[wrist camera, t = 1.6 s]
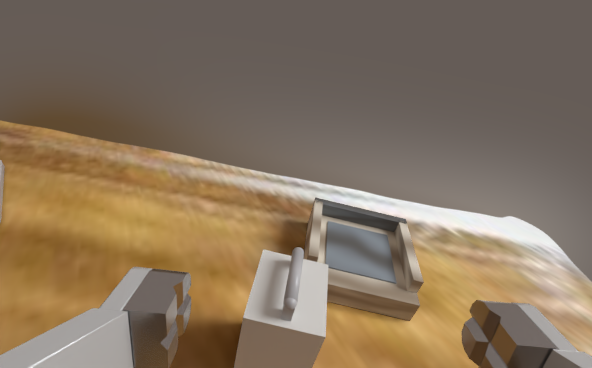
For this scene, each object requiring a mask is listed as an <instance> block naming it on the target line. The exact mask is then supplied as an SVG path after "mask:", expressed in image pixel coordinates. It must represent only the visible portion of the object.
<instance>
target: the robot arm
mask: <svg viewBox="0 0 592 368" xmlns="http://www.w3.org/2000/svg"><path fill="white" fill-rule="evenodd" d="M3 182H4V165H3V163H2V161H1V160H0V222H1V214H2V198H3ZM190 286H191V276H190V274H189V273H187V272H178V271H169V270H161V269H151V268H141V267H134V268H132V269H130V270H129V271H128V273H127V274H126V275H125V276H124V278H123V279H122V280H121V281H120V283H119V284H118V285H117V286H116V288H115V289H114V290H113V291H112V293H111V294H110V295H109V296H108V298H107V299H106V300H105V301H104V303H103V304H102V305H101V306H100V308H99V309H95V308H92V309H90V310H88V311H86V312H84V313H82V314H80V315H78V316H77V317H75V318H73V319H71V320H69V321H67V322H65V323H63V324H61V325H59V326H57V327H55V328H53V329H51V330H49V331H47V332H45V333H43V334H41V335H39V336H37V337H35V338H33V339H31V340H29V341H27V342H25V343H23V344H22V345H20V346H18V347H16V348H14V349H12V350H10V351H8V352H6V353H4V354H2V355H0V368H170V366H171V363H172V361H173V358H174V356H175V354H176V351H177V349H178V337H180V336H181V335H182V334H184V332H185V329H186V327H187V324H188V320H189V316H190V310H191V297H190V296H189V295H188V293H187V292H188V290H189V288H190ZM470 313H471V315H472V318H471V319H469V320H468V321H467V322H465V324H464V326H463V329H462V344H463V347H464V350H465V352H466V354H467V355H468V357H469V359H471V360H472V361H473V362H474V363H476V364H477V365H478V366H479V367H478V368H592V356H590V355H588V354H587V353H585V352H579V351H577V350H576V348H575V347H574V346H573V345H572V344H571V343H570V342H569V341H568V340H567V339H566V338H565V337H564V336H563V335H562V334H561V333H560V332H559V331H558V330H557V329H556V328H555V327H554V326H553V325H552V324H551V323H550V322H549V321H548V320H547V319H546V317H545V316H544V315H543V314H542V313H541V312H540V311H539V310H538V309H537V308H536V307H534V306H532V305H530V304H524V303H504V302H493V301H482V300H476V301H475V302H474V303H473V304H472V306H471V309H470Z"/></svg>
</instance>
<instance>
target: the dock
mask: <svg viewBox="0 0 592 368" xmlns="http://www.w3.org/2000/svg"><path fill="white" fill-rule="evenodd" d="M303 259H306V260H310V261H315V262H319V263H323V264H327V265H328V289H327V301H328V302H332V303H336V304H340V305H345V306H349V307H353V308H357V309H362V310H366V311H370V312H374V313H378V314H383V315H387V316H391V317H395V318H400V319H404V320H408V321H410V320H411V319H412V317H413V315H414V314H415V312H416V311H417V309H418V308H419V306H420V304H419V300H418V296H417V292H418V291H419V289H420V287H421V286H422V284H423V283H424V282H423V279H422V275H421V272H420V268H419V264H418V261H417V257H416V254H415V250H414V247H413V243H412V240H411V236H410V233H409V229H408V226H407V222H406V219H403V218H398V217H394V216H390V215H386V214H382V213H377V212H373V211H369V210H365V209H361V208H356V207H352V206H348V205H344V204H340V203H336V202H331V201H327V200H323V199H319V198H315V201H314V204H313V208H312V211H311V214H310V218H309V221H308V227H307V234H306V241H305V249H304V258H303Z"/></svg>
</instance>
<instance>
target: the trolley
mask: <svg viewBox="0 0 592 368" xmlns="http://www.w3.org/2000/svg"><path fill="white" fill-rule="evenodd" d="M303 258H304V251H303V249H302V248H300V247H296V248H294V249H293V251H292V256H289V255H285V254H281V253H277V252H272V251H268V250H264V249H263V252H262V256H261V259H260V263H259V266H258V269H257V273H256V276H255V279H254V283H253V286H252V290H251V293H250V296H249V300H248V303H247V307H246V310H245V313H244V317H243V321H242V327H241V332H240V337H239V343H238V348H237V354H236V359H235V364H234V368H312V367H313V364H314V362H315V360H316V357H317V355H318V353H319V351H320V348H321V346H322V344H323V342H324V339H325V336H326V312H327V289H328V265H327V264H323V263H319V262H315V261H310V260H306V259H303Z"/></svg>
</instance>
